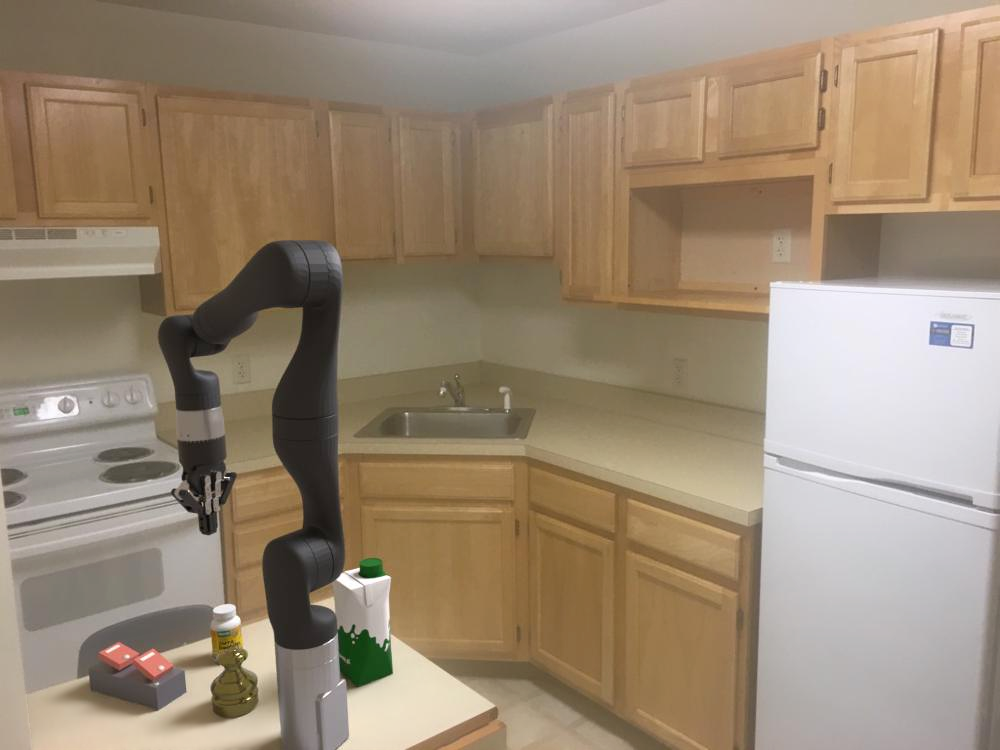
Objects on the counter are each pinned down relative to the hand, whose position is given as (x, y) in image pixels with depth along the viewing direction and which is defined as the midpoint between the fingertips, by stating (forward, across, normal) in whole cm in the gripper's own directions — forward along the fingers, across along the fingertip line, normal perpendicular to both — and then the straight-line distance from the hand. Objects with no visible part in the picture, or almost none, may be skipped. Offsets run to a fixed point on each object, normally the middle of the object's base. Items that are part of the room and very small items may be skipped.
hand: (209, 533), depth 134 cm
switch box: (+27, -8, +11) cm, 30 cm away
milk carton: (+27, +12, -22) cm, 37 cm away
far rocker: (+22, -8, +15) cm, 28 cm away
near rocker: (+22, -8, +7) cm, 24 cm away
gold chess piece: (+27, -5, -8) cm, 29 cm away
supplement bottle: (+27, +7, +5) cm, 29 cm away
